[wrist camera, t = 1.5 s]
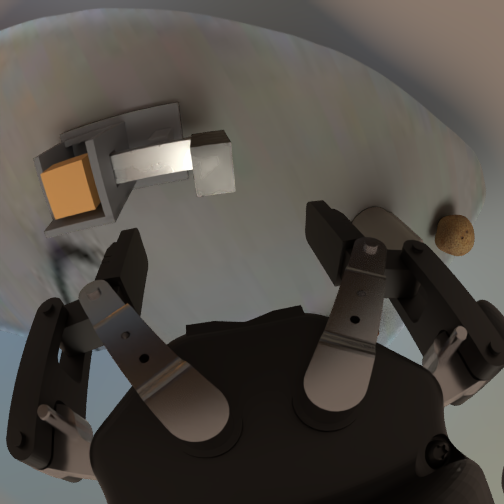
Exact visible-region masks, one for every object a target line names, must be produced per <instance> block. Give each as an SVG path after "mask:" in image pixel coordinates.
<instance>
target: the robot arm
mask: <svg viewBox="0 0 504 504" xmlns="http://www.w3.org/2000/svg"><path fill="white" fill-rule="evenodd" d="M305 234H306V239H307V242H308V244H309V245H310V247H311V248H312V250H313V252H314V253H315V255H316V256H317V258H318V260H319V261H320V263H321V264H322V266H323V268H324V269H325V271H326V273H327V274H328V276H329V277H330V279H331V281H332V282H333V284H334V286H340V287H339V290H338V293H337V296H336V299H335V302H334V305H333V308H332V311H331V313H330V316H329V317H326V316H323V315H319V314H312V313H304V311H303V309H302V307H301V305H299V306H294V307H289V308H284V309H279V310H274V311H271V312H269V313H267V314H264V315H262V316H259V317H257V318H254V319H252V320H249V321H247V322H225V321H211V322H205V323H198V324H191V325H186V334H185V335H182V336H180V337H178V338H176V339H175V340H173V341H171V342H170V343H169V344H167V345H166V344H165V343H164V342H163V341H162V340H161V339H160V338H159V336H158V335H157V334H156V333H155V332H154V331H153V330H152V329H151V328H150V327H149V326H148V325H147V324H146V323H145V322H144V320H143V319H142V318H141V317H140V315H141V308H142V301H143V295H144V289H145V283H146V277H147V271H148V259H147V255H146V252H145V249H144V246H143V243H142V240H141V236H140V233H139V231H138V229H137V228H133V229H128V230H123V231H121V233H120V235H119V238H118V240H117V242H114V243H113V244H112V245H111V246H110V247H109V248H108V249H107V251H106V253H105V255H104V258H103V260H102V264H101V265H100V268H99V270H98V273H97V276H96V278H95V281H92V282H90V283H88V284H87V285H86V286H84V287H83V289H82V290H81V291H80V293H79V297H78V298H79V299H78V300H76V301H74V302H71V303H69V304H67V305H64V304H63V302H62V301H61V299H59V298H56V297H54V298H50V299H48V300H46V301H45V302H44V303H42V304H41V306H40V307H39V308H38V310H37V313H36V315H35V318H34V321H33V323H32V326H31V329H30V332H29V335H28V338H27V341H26V344H25V348H24V351H23V354H22V358H21V362H20V366H19V369H18V373H17V377H16V382H15V386H14V391H13V395H12V401H11V406H10V413H9V420H8V427H7V436H6V441H7V447H8V450H9V452H10V454H11V455H12V456H13V457H14V458H15V459H17V460H19V461H21V462H23V463H25V464H27V465H29V466H31V467H33V468H34V469H36V470H38V471H40V472H43V473H45V474H48V475H50V476H53V477H56V478H61V479H63V480H66V481H69V482H73V483H74V482H79V481H80V480H82V479H83V478H84V479H91V480H98V482H99V484H100V486H101V488H102V490H103V492H104V495H105V497H106V500H107V503H108V504H494V501H493V498H492V495H491V492H490V489H489V486H488V483H487V481H486V478H485V475H484V473H483V471H482V469H481V468H480V466H479V465H478V464H477V463H475V462H474V461H473V460H471V459H469V458H468V457H466V456H465V455H464V454H462V453H461V452H460V451H459V450H458V449H456V447H455V446H454V445H453V444H452V443H451V441H450V440H449V438H448V435H447V432H446V427H445V421H444V407H445V406H447V405H449V404H451V405H454V406H457V405H461V404H463V403H464V402H465V401H466V400H468V399H469V398H471V397H472V396H473V395H474V394H476V393H477V392H478V391H479V390H480V389H482V388H483V387H484V386H485V385H486V384H487V383H488V382H489V381H490V380H491V379H492V378H493V377H495V376H496V375H497V374H498V373H499V372H500V371H501V369H503V368H504V316H503V315H502V314H501V312H500V311H499V310H498V309H497V308H496V307H495V306H494V305H492V304H491V303H490V302H488V301H486V300H479V301H477V302H476V301H475V300H474V299H473V297H472V296H471V295H470V294H469V292H468V291H467V290H466V289H465V287H464V286H463V285H462V284H461V283H460V281H459V280H458V279H457V278H456V277H455V275H453V273H452V272H451V271H450V270H449V268H448V267H447V266H446V265H445V264H444V263H443V262H442V261H441V260H440V258H439V257H438V256H437V255H436V254H435V253H434V252H433V251H432V250H431V249H430V248H429V247H428V246H427V245H426V244H424V243H423V240H422V239H421V238H420V237H419V236H418V235H417V234H416V233H415V232H413V231H412V230H411V229H410V228H409V227H408V226H407V225H406V224H404V223H403V222H402V221H401V220H400V219H399V218H398V217H396V216H395V215H394V214H393V213H388V212H387V211H385V210H384V209H382V208H380V207H371V208H368V209H366V210H364V211H362V212H361V213H360V214H359V215H358V216H357V217H356V218H355V219H354V220H353V222H351V221H350V220H348V218H347V217H346V216H345V215H344V214H343V213H341V212H339V211H337V210H335V209H331V208H330V207H329V206H328V205H327V204H326V203H325V202H324V201H323V200H321V201H312V202H308V203H307V206H306V226H305ZM384 298H389V300H390V301H391V303H392V304H393V306H394V308H395V309H396V311H397V312H398V314H399V316H400V317H401V319H402V321H403V322H404V324H405V326H406V327H407V329H408V331H409V332H410V334H411V336H412V338H413V339H414V341H415V342H416V345H417V346H418V348H419V350H420V352H421V354H422V355H423V359H422V365H423V366H421V365H419V364H417V363H415V362H413V361H411V360H409V359H408V358H406V357H404V356H402V355H400V354H398V353H396V352H394V351H392V350H390V349H388V348H386V347H384V346H383V345H381V344H379V343H377V342H376V341H377V336H378V331H379V325H380V319H381V313H382V307H383V300H384ZM103 345H104V346H105V347H106V349H107V350H108V352H109V353H110V355H111V356H112V358H113V359H114V361H115V362H116V364H117V365H118V367H119V368H120V370H121V371H122V372H123V374H124V375H125V377H126V378H127V379H128V380H129V382H130V383H131V385H132V387H131V388H130V389H129V391H128V392H127V393H126V394H125V396H124V397H123V398H122V400H121V401H120V402H119V403H118V404H117V406H116V407H115V408H114V410H113V411H112V412H111V413H110V415H109V416H108V417H107V418H106V420H105V421H104V422H103V424H102V425H101V426H100V427H99V429H98V430H97V431H96V433H95V434H94V436H93V431H92V428H91V426H90V424H89V423H88V422H87V421H86V402H87V389H88V379H89V370H90V362H91V355H92V350H93V349H96V348H98V347H101V346H103ZM59 348H60V349H62V353H61V358H60V363H58V351H59ZM502 489H503V492H504V468H503V473H502Z"/></svg>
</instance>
